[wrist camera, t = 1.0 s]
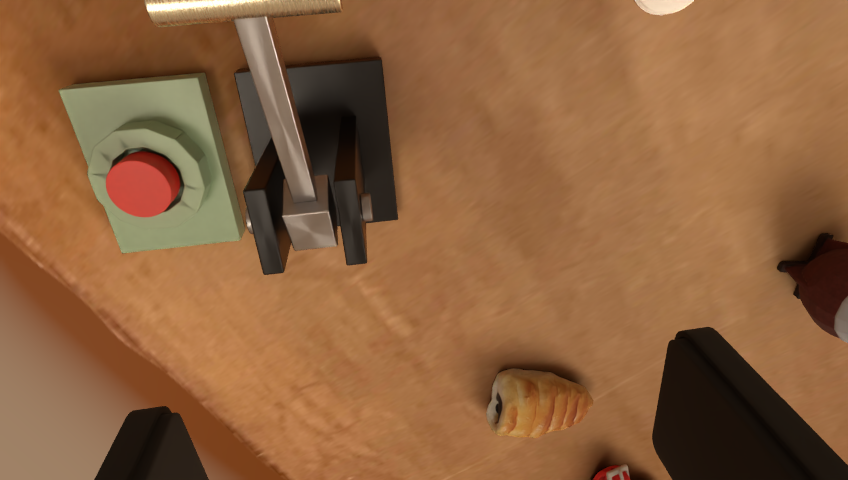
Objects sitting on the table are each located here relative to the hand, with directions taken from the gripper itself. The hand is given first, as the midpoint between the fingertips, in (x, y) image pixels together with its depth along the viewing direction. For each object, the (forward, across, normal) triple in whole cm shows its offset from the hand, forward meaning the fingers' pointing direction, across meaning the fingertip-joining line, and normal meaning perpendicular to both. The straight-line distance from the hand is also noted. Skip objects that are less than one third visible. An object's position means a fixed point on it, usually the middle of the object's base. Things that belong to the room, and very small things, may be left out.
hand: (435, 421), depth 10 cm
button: (+24, +15, +3) cm, 29 cm away
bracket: (+28, +4, +3) cm, 28 cm away
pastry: (+28, -10, +28) cm, 41 cm away
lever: (+16, +4, -2) cm, 16 cm away
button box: (+28, +15, +3) cm, 31 cm away
